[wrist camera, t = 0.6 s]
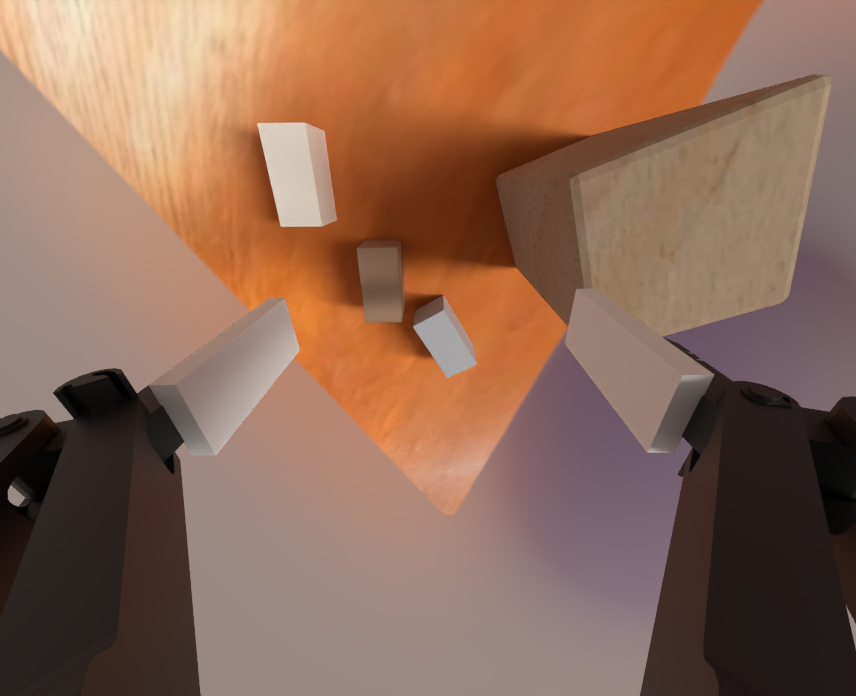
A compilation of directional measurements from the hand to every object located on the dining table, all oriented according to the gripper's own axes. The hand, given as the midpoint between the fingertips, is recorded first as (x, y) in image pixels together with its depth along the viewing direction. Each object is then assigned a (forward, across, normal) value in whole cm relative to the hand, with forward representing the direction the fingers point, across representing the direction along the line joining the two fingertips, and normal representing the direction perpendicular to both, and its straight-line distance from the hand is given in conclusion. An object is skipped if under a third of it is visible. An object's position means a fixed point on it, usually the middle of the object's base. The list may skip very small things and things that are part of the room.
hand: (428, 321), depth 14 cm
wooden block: (+23, +12, +2) cm, 26 cm away
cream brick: (+23, -12, +6) cm, 27 cm away
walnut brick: (+23, -6, -4) cm, 24 cm away
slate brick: (+23, +1, -11) cm, 25 cm away
